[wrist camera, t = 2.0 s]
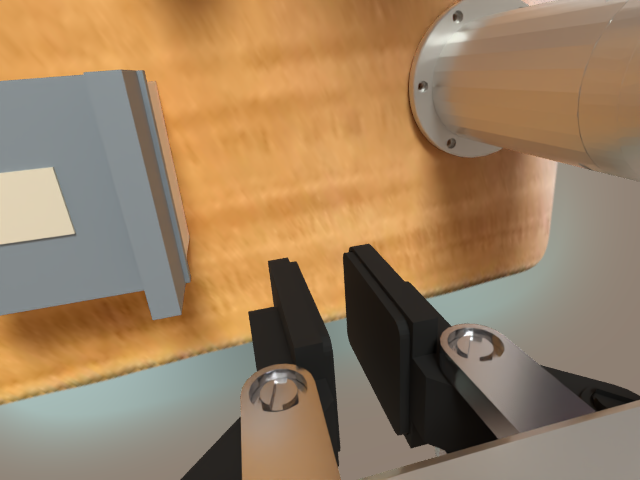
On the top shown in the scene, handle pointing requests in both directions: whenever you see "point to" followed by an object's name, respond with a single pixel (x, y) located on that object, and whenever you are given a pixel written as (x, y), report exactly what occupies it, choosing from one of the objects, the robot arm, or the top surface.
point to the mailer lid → (86, 195)
